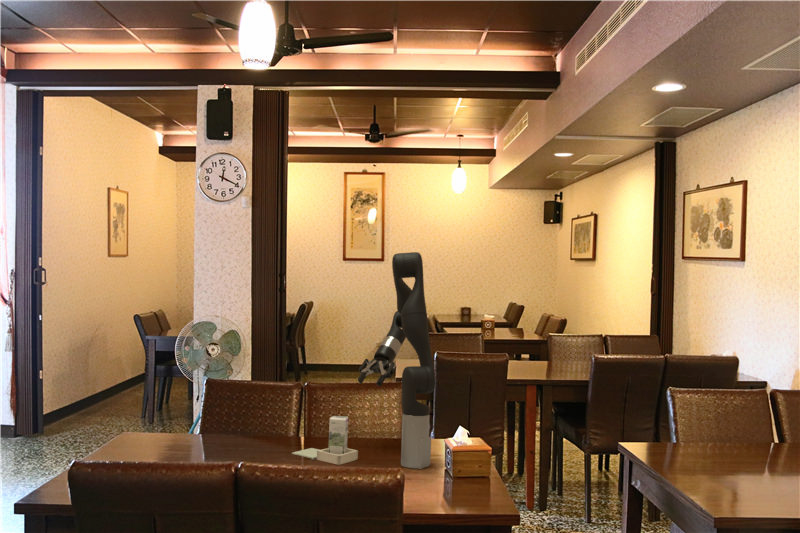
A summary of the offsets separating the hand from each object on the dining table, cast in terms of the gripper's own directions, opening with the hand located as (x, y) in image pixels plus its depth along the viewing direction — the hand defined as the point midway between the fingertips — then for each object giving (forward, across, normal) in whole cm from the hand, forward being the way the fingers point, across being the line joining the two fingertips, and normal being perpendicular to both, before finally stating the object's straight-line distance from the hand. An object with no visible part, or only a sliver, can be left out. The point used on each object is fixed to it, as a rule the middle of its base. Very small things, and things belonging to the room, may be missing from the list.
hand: (368, 383), depth 226 cm
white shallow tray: (+29, -6, +6) cm, 30 cm away
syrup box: (+29, 0, +6) cm, 30 cm away
